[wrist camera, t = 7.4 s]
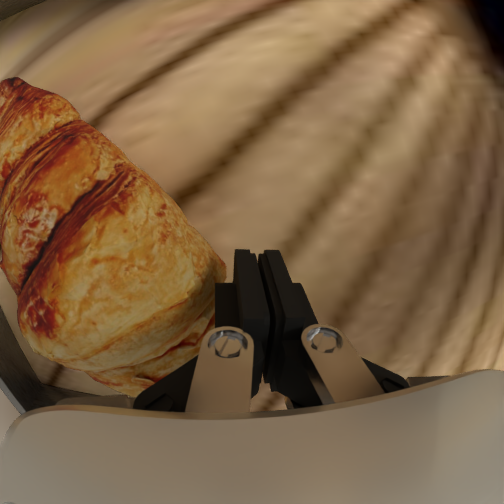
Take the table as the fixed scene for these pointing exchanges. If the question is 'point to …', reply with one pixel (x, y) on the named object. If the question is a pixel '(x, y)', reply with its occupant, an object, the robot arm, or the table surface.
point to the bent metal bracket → (3, 341)
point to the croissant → (96, 249)
